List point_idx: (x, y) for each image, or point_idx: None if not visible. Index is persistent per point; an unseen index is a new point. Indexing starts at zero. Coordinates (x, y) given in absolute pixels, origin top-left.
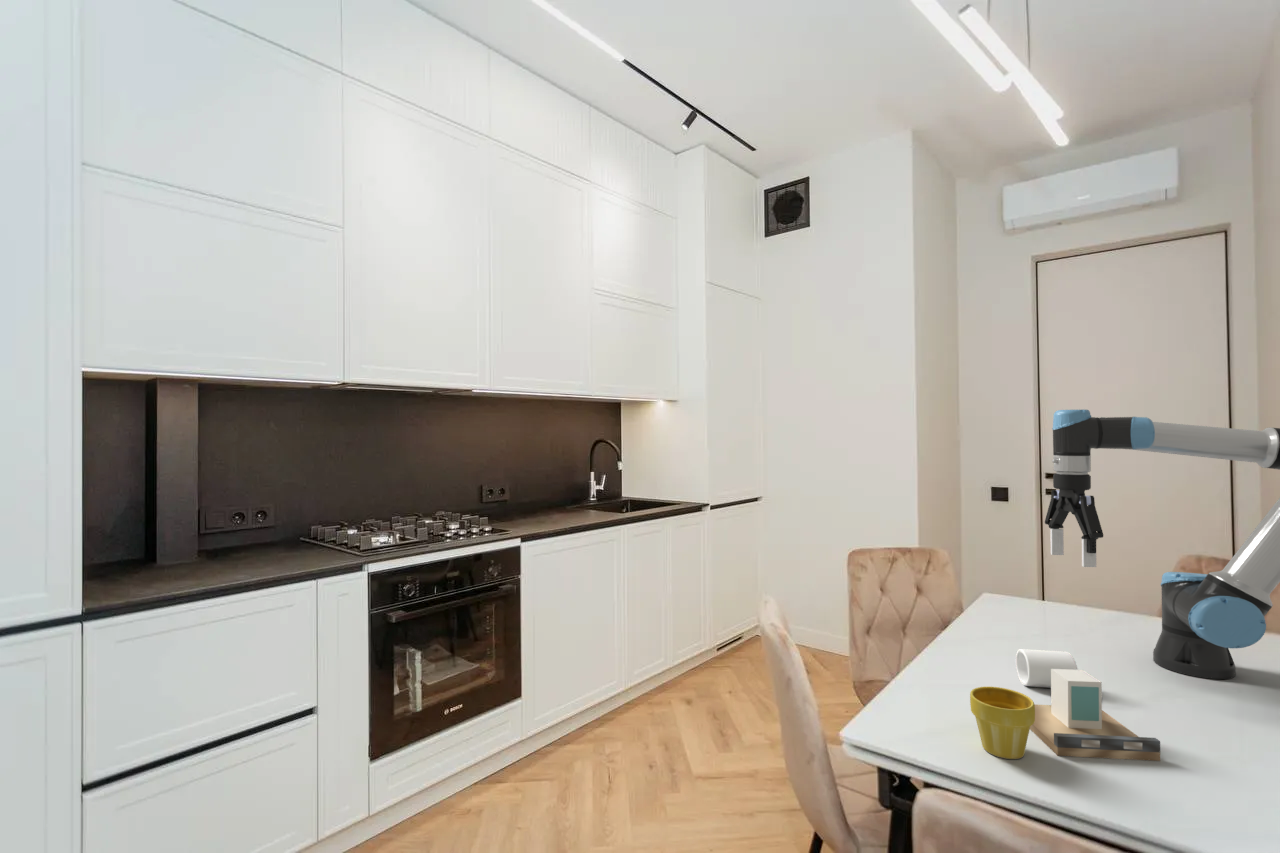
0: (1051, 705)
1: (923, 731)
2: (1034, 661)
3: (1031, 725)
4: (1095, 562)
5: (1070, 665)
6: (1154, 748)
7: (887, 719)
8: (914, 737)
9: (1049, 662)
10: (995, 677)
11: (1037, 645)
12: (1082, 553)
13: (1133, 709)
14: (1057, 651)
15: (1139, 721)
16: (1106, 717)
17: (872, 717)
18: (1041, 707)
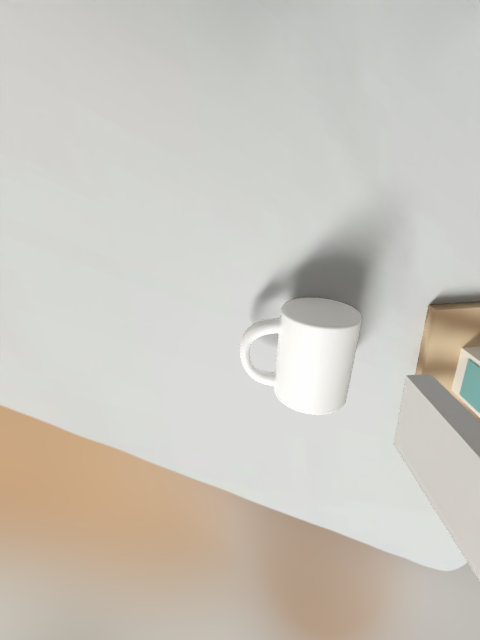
0: (460, 398)
1: None
2: (345, 395)
3: None
4: (452, 401)
5: (358, 332)
6: None
7: (420, 545)
8: None
9: (350, 370)
10: (273, 403)
11: (38, 252)
12: (460, 532)
13: (413, 228)
14: (323, 350)
15: (460, 248)
16: (476, 317)
17: (414, 556)
18: None
